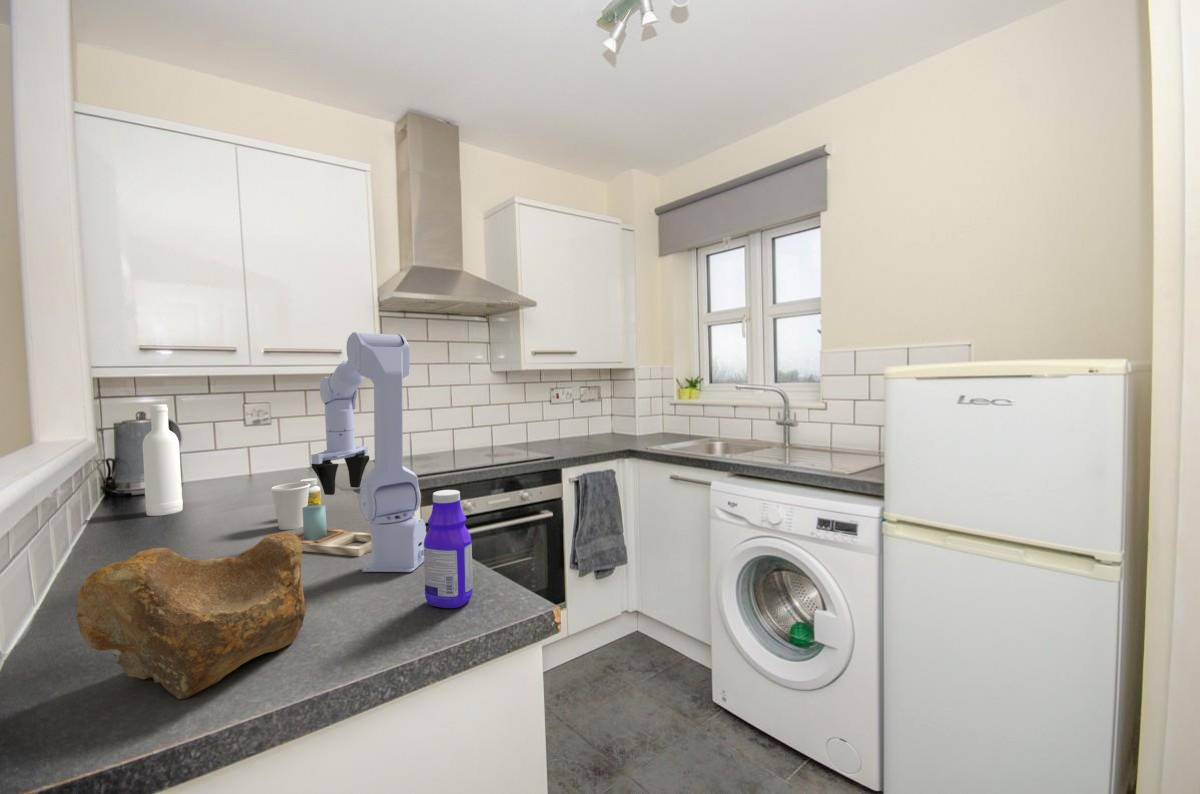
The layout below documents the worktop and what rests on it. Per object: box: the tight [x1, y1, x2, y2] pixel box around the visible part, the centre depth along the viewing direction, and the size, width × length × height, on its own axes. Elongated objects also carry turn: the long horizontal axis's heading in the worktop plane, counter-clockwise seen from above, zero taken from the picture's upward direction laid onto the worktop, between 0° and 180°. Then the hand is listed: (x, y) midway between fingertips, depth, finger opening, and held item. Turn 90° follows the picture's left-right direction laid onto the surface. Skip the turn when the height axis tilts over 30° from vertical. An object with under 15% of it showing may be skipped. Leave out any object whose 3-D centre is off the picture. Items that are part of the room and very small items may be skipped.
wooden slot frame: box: [294, 528, 371, 557], centre depth 112 cm, size 21×10×2 cm, turn 73°
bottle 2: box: [423, 489, 474, 609], centre depth 82 cm, size 7×6×17 cm
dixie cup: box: [270, 482, 310, 531], centre depth 128 cm, size 8×8×10 cm
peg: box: [302, 504, 328, 541], centre depth 114 cm, size 4×4×8 cm
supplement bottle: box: [299, 477, 322, 506], centre depth 138 cm, size 5×5×10 cm
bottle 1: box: [141, 403, 184, 517], centre depth 145 cm, size 8×8×30 cm
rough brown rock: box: [75, 532, 307, 700], centre depth 64 cm, size 23×17×15 cm
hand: (342, 490), depth 118 cm, fingers open, 7 cm apart
